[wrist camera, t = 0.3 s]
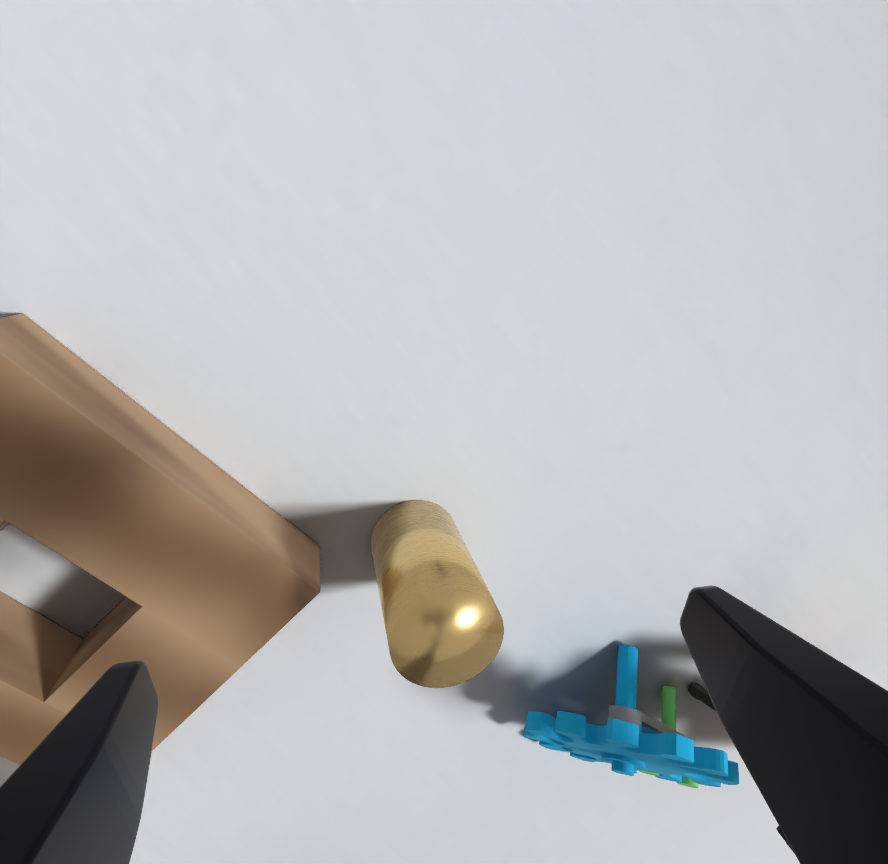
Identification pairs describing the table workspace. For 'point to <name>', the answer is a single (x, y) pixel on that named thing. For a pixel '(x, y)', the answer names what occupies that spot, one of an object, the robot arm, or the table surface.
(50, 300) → the table surface
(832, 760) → the robot arm
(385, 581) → the gold metal cylinder
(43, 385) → the jig
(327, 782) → the table surface
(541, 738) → the gear
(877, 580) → the table surface
